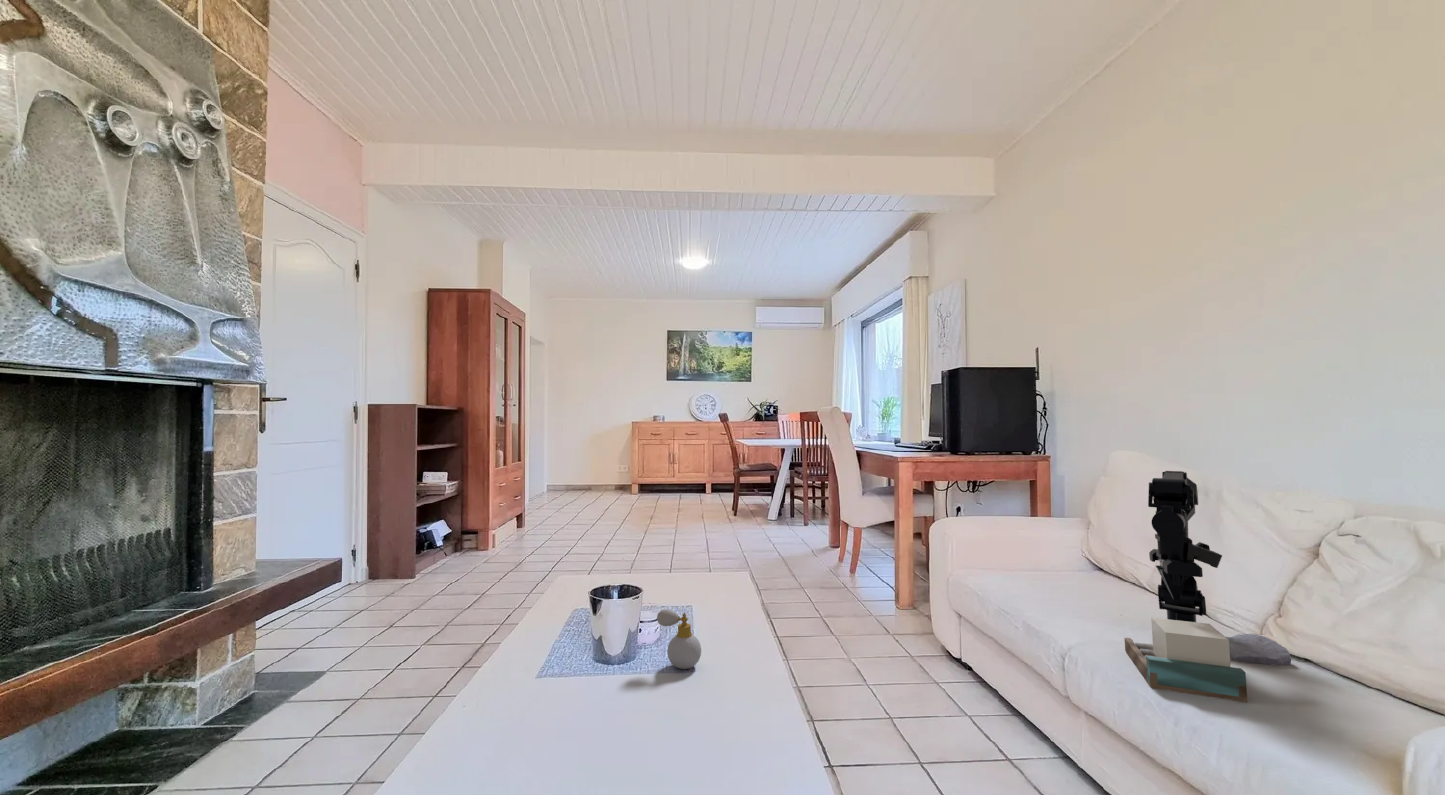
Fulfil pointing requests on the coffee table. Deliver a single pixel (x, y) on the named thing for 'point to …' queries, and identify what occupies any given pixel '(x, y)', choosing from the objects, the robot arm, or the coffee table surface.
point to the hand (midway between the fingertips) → (1176, 599)
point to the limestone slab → (1189, 642)
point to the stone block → (1257, 650)
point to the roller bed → (1187, 674)
